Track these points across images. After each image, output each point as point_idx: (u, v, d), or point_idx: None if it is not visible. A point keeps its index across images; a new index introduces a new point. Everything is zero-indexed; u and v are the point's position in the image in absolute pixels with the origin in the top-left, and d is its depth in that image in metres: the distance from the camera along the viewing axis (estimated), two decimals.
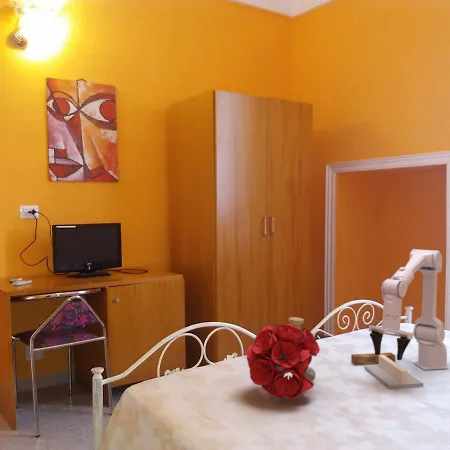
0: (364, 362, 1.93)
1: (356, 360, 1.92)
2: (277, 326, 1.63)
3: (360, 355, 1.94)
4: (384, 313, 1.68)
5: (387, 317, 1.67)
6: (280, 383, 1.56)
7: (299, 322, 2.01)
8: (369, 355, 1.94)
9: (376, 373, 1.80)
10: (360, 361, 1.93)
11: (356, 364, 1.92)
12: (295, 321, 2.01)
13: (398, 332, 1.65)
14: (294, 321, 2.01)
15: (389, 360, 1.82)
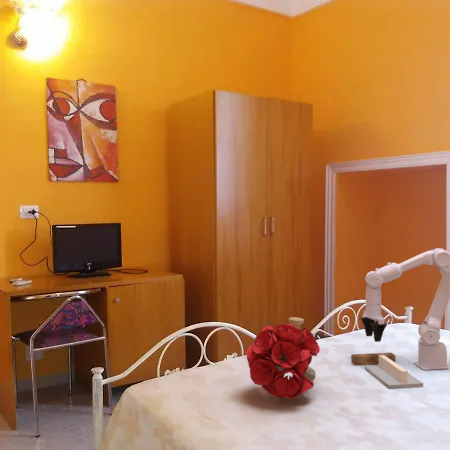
0: (364, 362, 1.93)
1: (356, 360, 1.92)
2: (277, 326, 1.63)
3: (360, 355, 1.94)
4: None
5: (366, 304, 1.94)
6: (280, 383, 1.56)
7: (299, 322, 2.01)
8: (369, 355, 1.94)
9: (376, 373, 1.80)
10: (360, 361, 1.93)
11: (356, 364, 1.92)
12: (295, 321, 2.01)
13: (372, 318, 1.90)
14: (294, 321, 2.01)
15: (389, 360, 1.82)
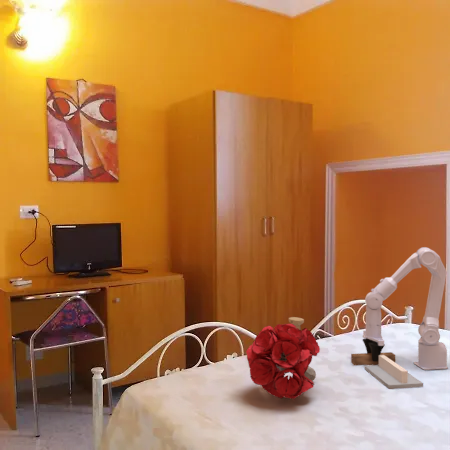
0: (363, 361, 1.93)
1: (356, 360, 1.93)
2: (277, 326, 1.63)
3: (360, 354, 1.94)
4: None
5: (366, 325, 1.94)
6: (280, 383, 1.57)
7: (299, 322, 2.01)
8: (369, 355, 1.94)
9: (376, 373, 1.80)
10: (360, 360, 1.93)
11: (356, 363, 1.93)
12: (295, 321, 2.01)
13: (372, 339, 1.91)
14: (294, 321, 2.01)
15: (389, 360, 1.82)
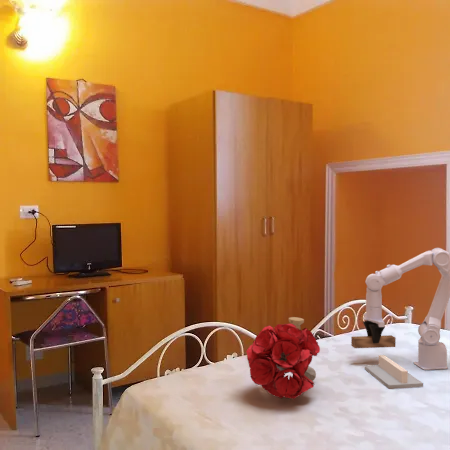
0: (364, 344, 1.92)
1: (356, 342, 1.92)
2: (277, 326, 1.63)
3: (360, 337, 1.94)
4: None
5: (366, 307, 1.93)
6: (280, 383, 1.57)
7: (299, 322, 2.01)
8: (369, 337, 1.94)
9: (376, 373, 1.80)
10: (360, 343, 1.92)
11: (356, 346, 1.92)
12: (295, 321, 2.01)
13: (373, 320, 1.90)
14: (294, 321, 2.01)
15: (389, 360, 1.82)
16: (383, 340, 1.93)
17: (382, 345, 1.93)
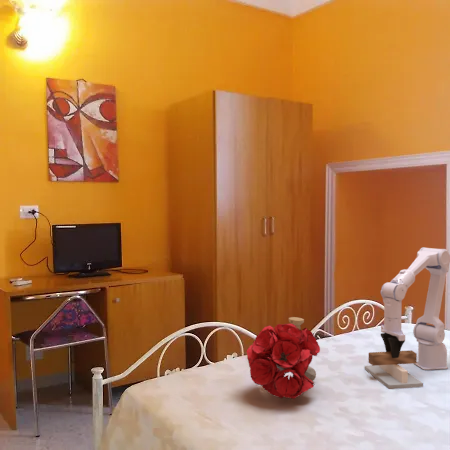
0: (382, 360, 1.77)
1: (374, 359, 1.76)
2: (277, 326, 1.63)
3: (378, 353, 1.78)
4: (385, 315, 1.78)
5: (385, 319, 1.78)
6: (280, 383, 1.57)
7: (299, 322, 2.01)
8: (388, 353, 1.78)
9: (376, 373, 1.80)
10: (378, 360, 1.76)
11: (374, 363, 1.76)
12: (295, 321, 2.01)
13: (392, 333, 1.75)
14: (294, 321, 2.01)
15: None
16: (404, 356, 1.78)
17: (402, 361, 1.78)
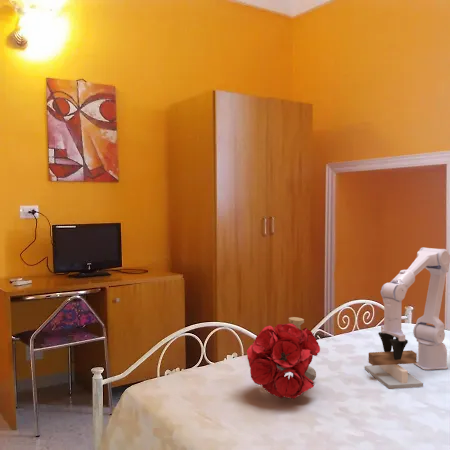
0: (382, 360, 1.77)
1: (374, 359, 1.76)
2: (278, 326, 1.63)
3: (378, 353, 1.78)
4: (385, 316, 1.78)
5: (385, 319, 1.78)
6: (281, 383, 1.57)
7: (299, 322, 2.01)
8: (388, 353, 1.78)
9: (376, 373, 1.80)
10: (378, 360, 1.76)
11: (374, 363, 1.76)
12: (295, 321, 2.01)
13: (392, 333, 1.75)
14: (294, 321, 2.01)
15: None
16: (404, 356, 1.78)
17: (402, 361, 1.78)
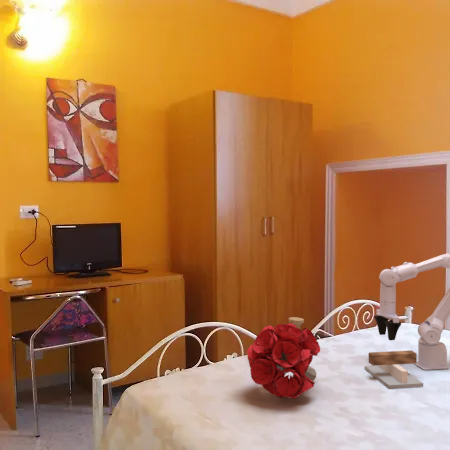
0: (382, 360, 1.77)
1: (374, 359, 1.76)
2: (278, 326, 1.64)
3: (378, 353, 1.78)
4: None
5: (380, 303, 1.92)
6: (281, 382, 1.57)
7: (299, 322, 2.01)
8: (388, 353, 1.78)
9: (376, 373, 1.80)
10: (378, 360, 1.76)
11: (374, 363, 1.76)
12: (295, 321, 2.01)
13: (387, 316, 1.88)
14: (294, 321, 2.01)
15: None
16: (404, 356, 1.78)
17: (402, 361, 1.78)
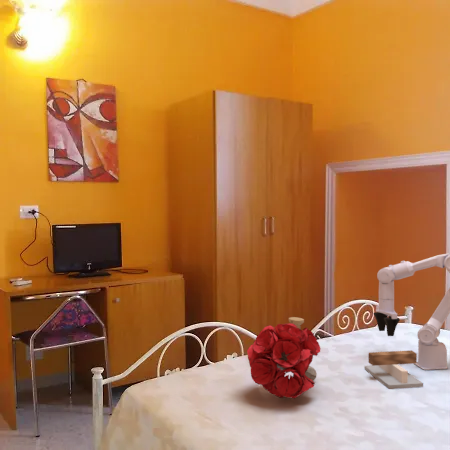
0: (382, 360, 1.77)
1: (374, 359, 1.76)
2: (278, 326, 1.64)
3: (378, 353, 1.78)
4: None
5: (379, 300, 1.97)
6: (281, 382, 1.57)
7: (299, 322, 2.01)
8: (388, 353, 1.78)
9: (376, 373, 1.80)
10: (378, 360, 1.76)
11: (374, 363, 1.76)
12: (295, 321, 2.01)
13: (385, 312, 1.94)
14: (294, 321, 2.01)
15: None
16: (404, 356, 1.78)
17: (402, 361, 1.78)
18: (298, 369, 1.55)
